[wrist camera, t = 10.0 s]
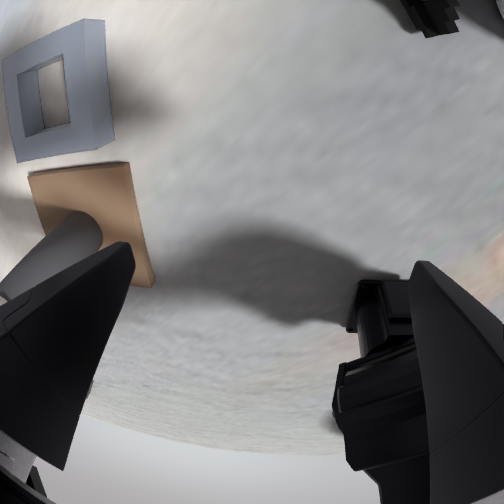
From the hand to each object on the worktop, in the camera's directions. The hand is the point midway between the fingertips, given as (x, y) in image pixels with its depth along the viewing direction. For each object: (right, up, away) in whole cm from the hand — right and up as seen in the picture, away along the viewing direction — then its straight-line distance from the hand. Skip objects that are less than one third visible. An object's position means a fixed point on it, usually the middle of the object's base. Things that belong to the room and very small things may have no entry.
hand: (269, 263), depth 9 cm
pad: (-16, +3, +17) cm, 23 cm away
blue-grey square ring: (-16, +13, +9) cm, 23 cm away
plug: (-16, +2, +16) cm, 23 cm away
